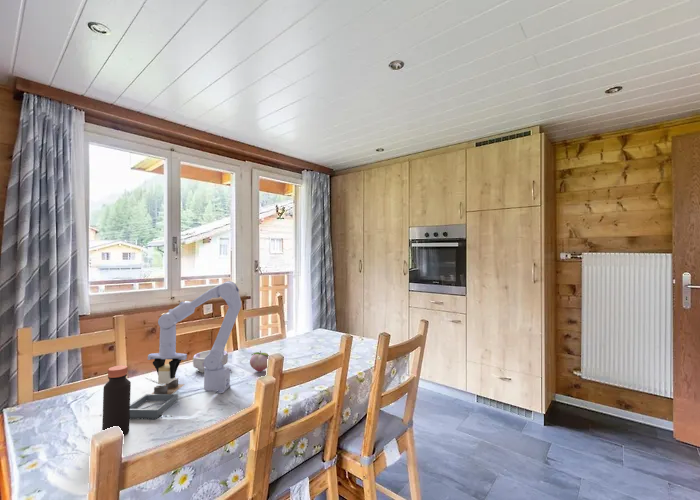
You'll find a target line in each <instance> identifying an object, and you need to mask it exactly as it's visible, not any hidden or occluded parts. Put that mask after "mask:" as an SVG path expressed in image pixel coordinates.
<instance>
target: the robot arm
mask: <svg viewBox="0 0 700 500" xmlns="http://www.w3.org/2000/svg"><path fill="white" fill-rule="evenodd" d="M220 297H221V298H222V299H223V300H224V301H225V304H226V305H227V306H228V308H227V310H226V313H225V316H224V317H223V320H222V323H221V326H220V327H219V331H218V332H217V335H216V337H215V340H214V342H213V345H212V347H211V351H210V352H209V353H208V355H207V356H206V358H205V359H204V366H205V367H204V373H203V390H204V391H207V392H208V391H209V392H213V391H216V392H215V394H223V393H225V392H226V391H227V390H228V389H229V388H230V386H231V384H230V382H231V380H230V379H231V369H230V368H229V367H226V366H225V365H224V366H223V363H222V362H221V361H222V359H223V357H224V351H225V349H226V344H227V343H228V340H229V337H230V335H231V333H232V330H233V328H234V325H235V323H236V320H237V318H238V315H239V313H240V310H241V308H242V304H243V303H242V299H241V295H240V289H239V287H238V286H237V285H236V283H235V282H233V281H231V280H227V281H225V282H223V283H221V284H218V285H216V286H214V287H212V288H210V289H208V290H207V291H204V293H202V294H201V295H199V296H197V297H196V298H194V299H192V300H191V301H189V300H185V301H183V300H182V301H181V302H179V303H178V304H179V305H177V306H175V307H174V308H170V309H168V312H166V313H163V314H162V315H161V316H160V317H159V318H158V321H157V324H158V326H159V346H158V347H159V349H158V350H159V351H158V352H156V353H154V352H153V353H149V354H148V355H147V360H148V361H149V360H150V361H151V360H153V361H152V365H153V366H154V368H155V370H156V373H157V374H158V370H159V368H160V367H161V366H163V365H165V364H166V360H170V361H169V362H168V364H169V365H170V378H171V379H173V378H174V377H175V378H176V373H177V370H178V368H179V365H180V363H181V362H182V361H185V360H187V358H188V354H187V353H181V352H176V349H177V347H176V346H177V324H178V323H179V322H181V321H183V320H184V319H186V318H187V317H188V318H189V316H191V315H192V314H195V311H196V308H198V307H199V306H201V305H203V304H204V303H206V302H207V301H209V300H212V299H218V298H220Z"/></svg>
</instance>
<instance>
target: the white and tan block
mask: <svg viewBox="0 0 700 500" xmlns="http://www.w3.org/2000/svg"><path fill="white" fill-rule="evenodd" d="M157 376H158V378H157V379H158V380H157V384H158V385H165V384H169V383H170V382H172V381H173V380H175V378H176V376H175V377H174V378H173V379H171V378H170V365H169V363H165V364H164V365H163V366H161V367H160V368H159V370H158V373H157Z"/></svg>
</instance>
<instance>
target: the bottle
mask: <svg viewBox="0 0 700 500" xmlns="http://www.w3.org/2000/svg"><path fill="white" fill-rule="evenodd" d="M128 367H129V366H127V365H125V364H124V365H123V364H122V365H115V366H111V367H109V368H108V369H107V379H108V381H107V382H106V383H105V384H104V385H103V389H102V390H103V392H102V393H103V395H102V396H103V397H102V424H101V425H102V426H101V428H102V429H101V431H102V430H105V429H107V428H110V427H113V426H119V427H120V428H121V430H122V431H123V434H124V436H123V437H125V436H126V435H128V433H129V432H130V423H131V422H130V420H131V419H130V404H131V383H132V382H131V381H130V380H129V379H128V378H127V376H128Z"/></svg>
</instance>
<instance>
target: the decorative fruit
mask: <svg viewBox="0 0 700 500" xmlns="http://www.w3.org/2000/svg"><path fill="white" fill-rule="evenodd" d="M268 356H269V354H268V353H267V352H261V350H260V351H259V352H257V351H255V352H253V353H252V354H251V358H250V359H249V364H250V367H251V368H252V369H253V370H255V371H256V372H258V373H261V372H263V371H265V370H266V369H267V368H268V367H267V359H268ZM269 357H270V356H269Z"/></svg>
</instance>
